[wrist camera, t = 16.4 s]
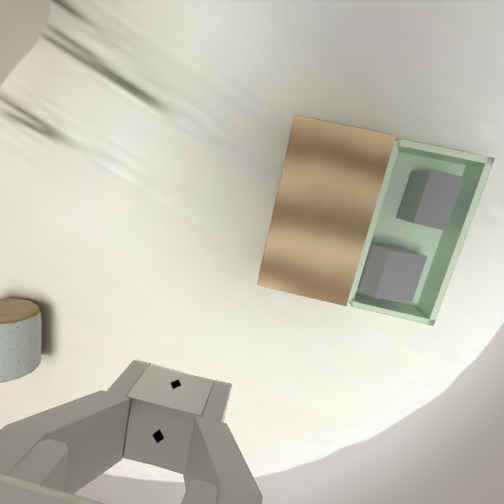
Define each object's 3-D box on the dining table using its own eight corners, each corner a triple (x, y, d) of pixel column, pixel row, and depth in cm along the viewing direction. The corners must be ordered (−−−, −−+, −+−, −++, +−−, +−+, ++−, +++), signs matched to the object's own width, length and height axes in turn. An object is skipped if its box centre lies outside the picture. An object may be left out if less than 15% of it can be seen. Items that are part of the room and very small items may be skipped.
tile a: (431, 169, 30) (464, 177, 29) (410, 171, 34) (439, 177, 34) (412, 223, 31) (444, 230, 31) (395, 217, 36) (423, 223, 35)
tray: (385, 143, 35) (398, 138, 31) (470, 160, 34) (494, 158, 30) (342, 293, 38) (348, 306, 35) (418, 311, 38) (433, 325, 34)
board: (294, 120, 35) (294, 115, 32) (387, 139, 34) (396, 135, 32) (259, 277, 39) (256, 285, 36) (341, 296, 39) (346, 306, 36)
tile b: (369, 242, 34) (389, 250, 32) (405, 248, 36) (427, 256, 33) (356, 287, 35) (374, 298, 33) (392, 290, 37) (412, 301, 35)
